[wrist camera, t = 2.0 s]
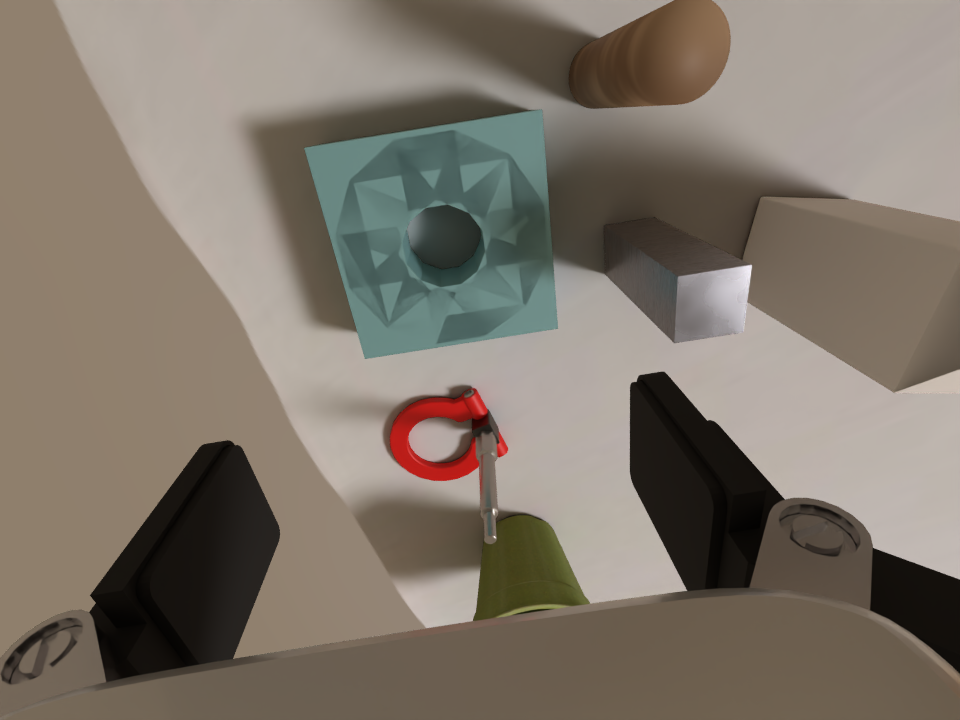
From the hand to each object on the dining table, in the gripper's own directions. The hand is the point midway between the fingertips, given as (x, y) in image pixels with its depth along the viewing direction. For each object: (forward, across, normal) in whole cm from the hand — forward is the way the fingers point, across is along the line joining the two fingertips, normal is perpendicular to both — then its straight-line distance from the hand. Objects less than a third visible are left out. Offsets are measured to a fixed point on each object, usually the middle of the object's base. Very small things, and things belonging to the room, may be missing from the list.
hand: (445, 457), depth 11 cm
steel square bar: (+24, -13, +3) cm, 28 cm away
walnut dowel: (+24, -11, -8) cm, 28 cm away
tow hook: (+25, +3, +17) cm, 30 cm away
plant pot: (+25, -2, +31) cm, 40 cm away
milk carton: (+25, -25, +5) cm, 35 cm away
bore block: (+24, 0, 0) cm, 24 cm away
